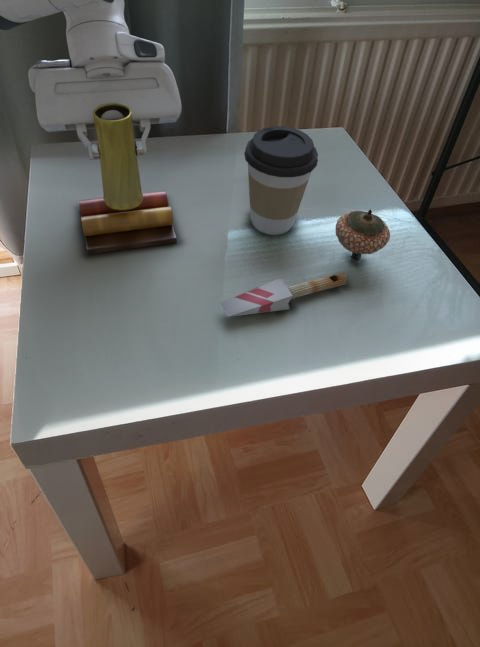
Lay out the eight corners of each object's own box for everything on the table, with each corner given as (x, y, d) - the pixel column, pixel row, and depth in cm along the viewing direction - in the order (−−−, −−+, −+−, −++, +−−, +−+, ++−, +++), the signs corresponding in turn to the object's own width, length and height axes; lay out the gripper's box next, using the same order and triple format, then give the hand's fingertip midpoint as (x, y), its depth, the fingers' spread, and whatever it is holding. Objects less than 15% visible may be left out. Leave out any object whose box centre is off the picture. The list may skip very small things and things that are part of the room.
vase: (96, 196, 79) (81, 108, 69) (129, 183, 82) (119, 97, 72) (117, 216, 77) (105, 127, 66) (151, 201, 80) (144, 114, 69)
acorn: (318, 252, 82) (330, 201, 74) (356, 237, 85) (371, 186, 78) (351, 284, 78) (367, 232, 70) (390, 266, 81) (409, 215, 73)
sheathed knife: (219, 292, 70) (339, 264, 77) (217, 306, 72) (335, 277, 79) (230, 311, 68) (353, 280, 75) (228, 325, 70) (348, 294, 77)
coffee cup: (279, 195, 92) (291, 116, 80) (318, 230, 86) (336, 150, 74) (226, 213, 87) (230, 131, 76) (263, 251, 81) (274, 169, 70)
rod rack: (87, 254, 78) (83, 234, 75) (81, 208, 85) (76, 188, 82) (176, 242, 81) (176, 222, 78) (162, 199, 89) (161, 179, 86)
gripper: (21, 51, 66) (40, 157, 68) (174, 44, 71) (189, 144, 73) (28, 71, 73) (46, 168, 74) (169, 64, 77) (183, 156, 79)
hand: (118, 156), depth 73 cm, fingers closed on vase, 5 cm apart
